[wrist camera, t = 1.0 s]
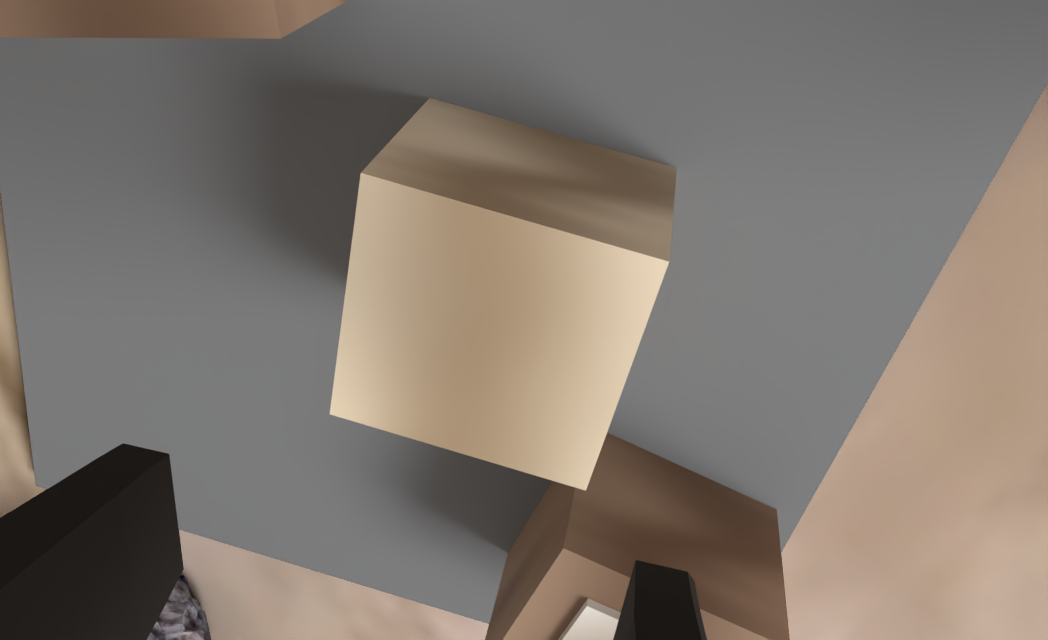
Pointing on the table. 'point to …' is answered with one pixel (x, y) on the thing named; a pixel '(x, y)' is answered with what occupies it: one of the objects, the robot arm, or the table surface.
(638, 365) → the slate mat
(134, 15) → the walnut block
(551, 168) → the plain block
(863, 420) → the table surface
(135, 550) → the robot arm
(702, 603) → the walnut block
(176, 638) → the pumice stone
